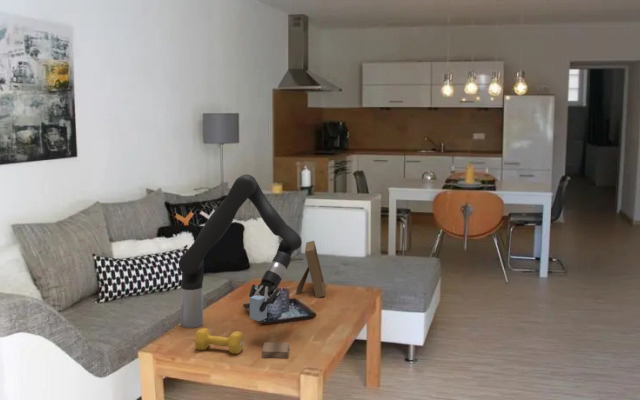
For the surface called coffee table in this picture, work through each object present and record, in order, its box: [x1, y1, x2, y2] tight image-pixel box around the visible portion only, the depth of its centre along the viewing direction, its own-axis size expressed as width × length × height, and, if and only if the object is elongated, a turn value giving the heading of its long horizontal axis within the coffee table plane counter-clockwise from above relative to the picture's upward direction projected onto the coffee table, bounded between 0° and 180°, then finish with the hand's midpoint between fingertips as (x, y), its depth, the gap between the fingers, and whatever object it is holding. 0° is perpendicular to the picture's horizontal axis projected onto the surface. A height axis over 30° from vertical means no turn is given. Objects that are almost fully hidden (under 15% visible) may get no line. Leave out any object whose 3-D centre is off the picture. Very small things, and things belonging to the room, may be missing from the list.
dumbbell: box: [194, 327, 245, 355], centre depth 267 cm, size 19×9×8 cm, turn 76°
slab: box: [261, 341, 290, 359], centre depth 265 cm, size 10×10×3 cm
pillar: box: [249, 294, 268, 322], centre depth 273 cm, size 5×5×9 cm
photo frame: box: [295, 240, 326, 299], centre depth 348 cm, size 15×22×25 cm
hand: (255, 309), depth 271 cm, fingers closed on pillar, 5 cm apart
